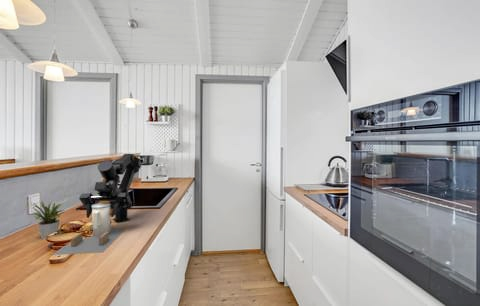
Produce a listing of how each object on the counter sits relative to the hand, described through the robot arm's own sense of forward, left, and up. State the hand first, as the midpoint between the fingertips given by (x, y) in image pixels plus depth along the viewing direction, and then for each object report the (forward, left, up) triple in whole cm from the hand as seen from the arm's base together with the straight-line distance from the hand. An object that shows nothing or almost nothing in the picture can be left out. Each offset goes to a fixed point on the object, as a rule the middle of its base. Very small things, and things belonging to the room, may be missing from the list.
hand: (99, 217), depth 99 cm
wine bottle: (-37, +11, -9) cm, 40 cm away
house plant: (-14, -17, -9) cm, 24 cm away
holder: (+4, -3, -9) cm, 10 cm away
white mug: (-1, +1, -7) cm, 8 cm away
